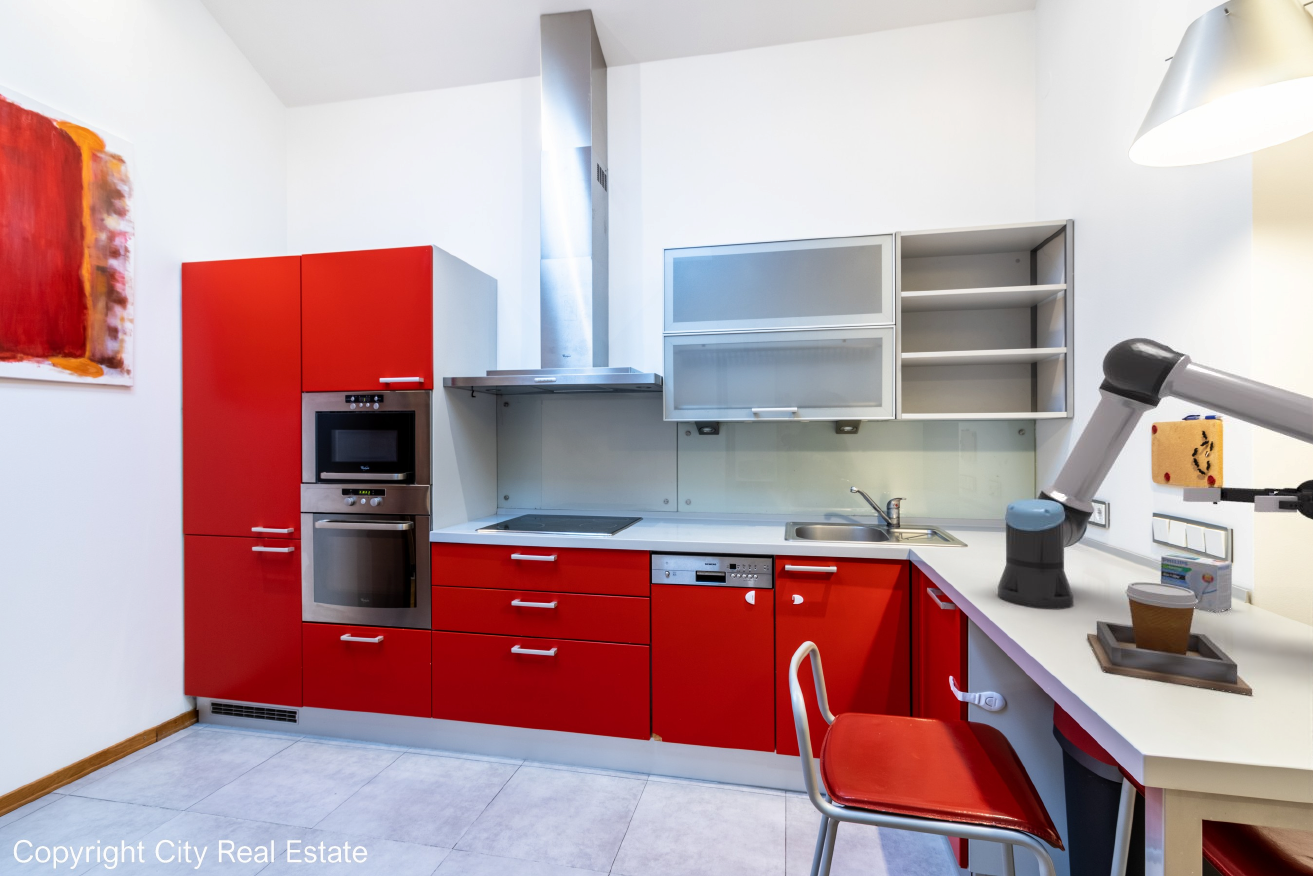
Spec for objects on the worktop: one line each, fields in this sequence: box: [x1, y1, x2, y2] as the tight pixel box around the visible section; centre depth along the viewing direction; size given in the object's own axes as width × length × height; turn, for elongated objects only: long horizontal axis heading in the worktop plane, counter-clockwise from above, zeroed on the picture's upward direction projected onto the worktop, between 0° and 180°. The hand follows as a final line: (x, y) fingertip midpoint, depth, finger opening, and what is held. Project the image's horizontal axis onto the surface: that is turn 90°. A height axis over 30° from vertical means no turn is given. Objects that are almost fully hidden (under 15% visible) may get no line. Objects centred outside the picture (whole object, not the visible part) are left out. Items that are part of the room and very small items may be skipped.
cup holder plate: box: [1086, 620, 1253, 696], centre depth 100 cm, size 18×18×4 cm
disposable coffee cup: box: [1124, 581, 1198, 655], centre depth 100 cm, size 10×10×12 cm
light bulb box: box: [1160, 553, 1233, 613], centre depth 133 cm, size 11×7×11 cm, turn 25°
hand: (1218, 499), depth 106 cm, fingers open, 13 cm apart
